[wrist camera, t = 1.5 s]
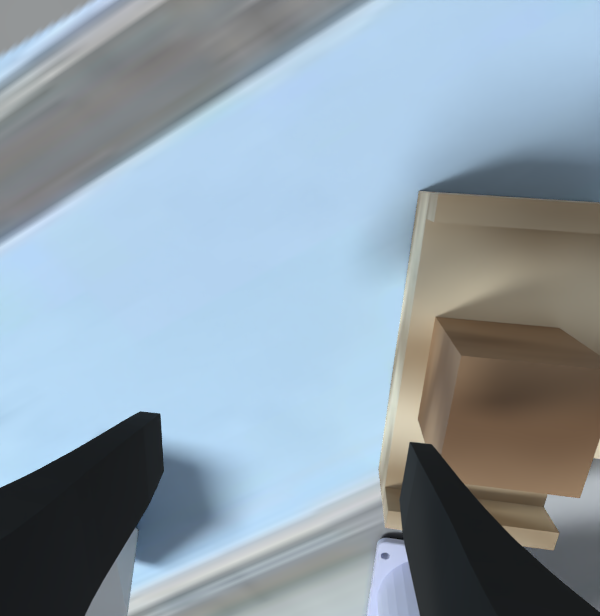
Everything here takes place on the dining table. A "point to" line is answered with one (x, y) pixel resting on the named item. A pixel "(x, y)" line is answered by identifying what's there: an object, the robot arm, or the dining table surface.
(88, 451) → the robot arm
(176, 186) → the dining table surface
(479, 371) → the walnut block
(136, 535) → the die
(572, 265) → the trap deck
